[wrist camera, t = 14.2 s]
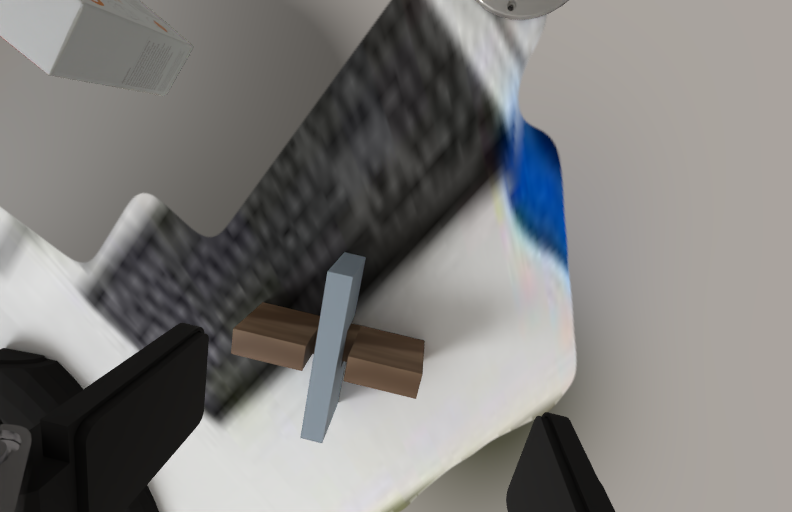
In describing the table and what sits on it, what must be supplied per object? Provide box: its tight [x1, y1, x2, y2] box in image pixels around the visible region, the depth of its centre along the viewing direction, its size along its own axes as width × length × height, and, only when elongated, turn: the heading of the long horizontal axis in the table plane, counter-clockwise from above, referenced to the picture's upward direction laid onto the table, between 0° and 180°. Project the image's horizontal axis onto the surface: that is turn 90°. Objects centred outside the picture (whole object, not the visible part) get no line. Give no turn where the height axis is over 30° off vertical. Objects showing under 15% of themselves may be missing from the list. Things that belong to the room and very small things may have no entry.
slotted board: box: [231, 302, 424, 399], centre depth 43 cm, size 3×20×7 cm, turn 78°
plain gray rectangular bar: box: [301, 252, 366, 443], centre depth 43 cm, size 20×2×7 cm, turn 168°
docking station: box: [0, 348, 159, 512], centre depth 55 cm, size 25×41×5 cm, turn 22°
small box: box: [0, 0, 193, 96], centre depth 33 cm, size 8×6×13 cm
